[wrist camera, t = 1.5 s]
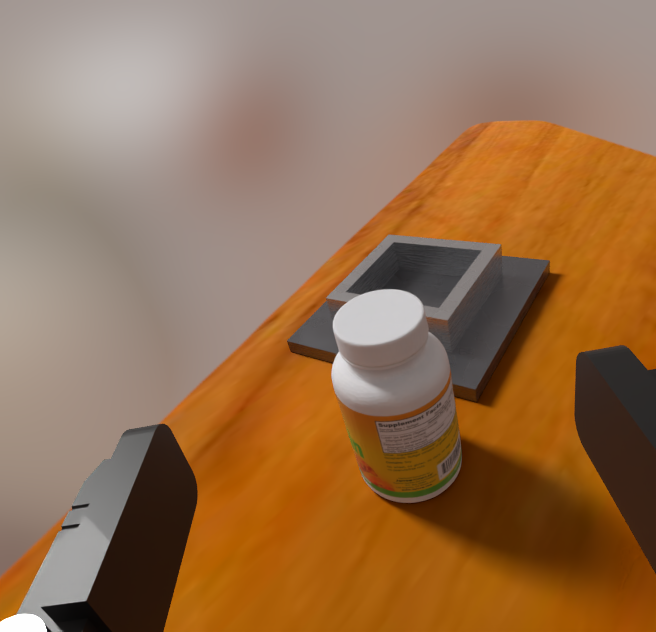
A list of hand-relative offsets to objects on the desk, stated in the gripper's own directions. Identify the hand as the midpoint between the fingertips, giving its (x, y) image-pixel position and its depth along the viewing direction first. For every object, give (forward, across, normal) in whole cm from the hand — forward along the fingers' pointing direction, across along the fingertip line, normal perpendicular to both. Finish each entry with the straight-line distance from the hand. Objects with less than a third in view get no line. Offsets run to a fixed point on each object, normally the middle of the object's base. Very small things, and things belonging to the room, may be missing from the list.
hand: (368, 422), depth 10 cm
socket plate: (+25, -3, +13) cm, 28 cm away
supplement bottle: (+12, 0, +14) cm, 18 cm away
